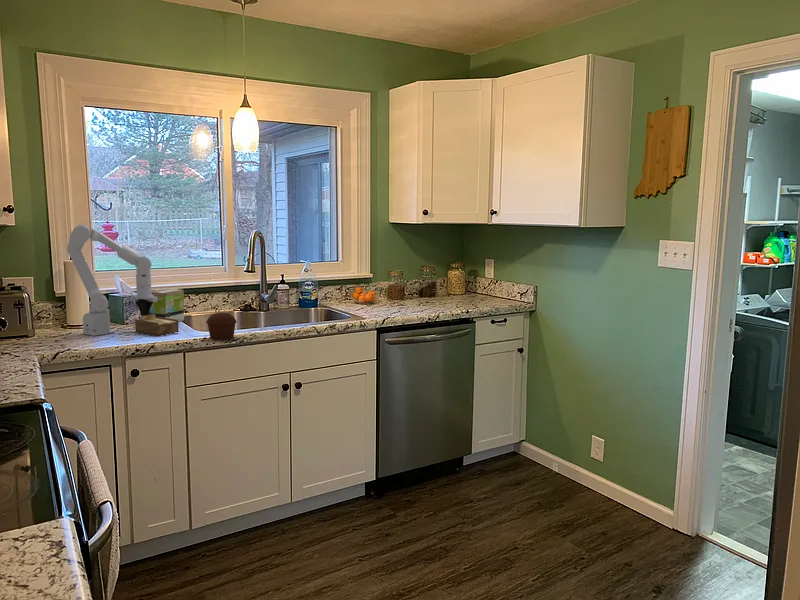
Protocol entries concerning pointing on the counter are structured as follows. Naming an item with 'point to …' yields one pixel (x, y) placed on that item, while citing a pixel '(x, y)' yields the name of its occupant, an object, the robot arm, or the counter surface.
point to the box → (156, 327)
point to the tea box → (168, 304)
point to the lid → (156, 320)
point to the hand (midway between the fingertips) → (144, 317)
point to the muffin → (221, 326)
